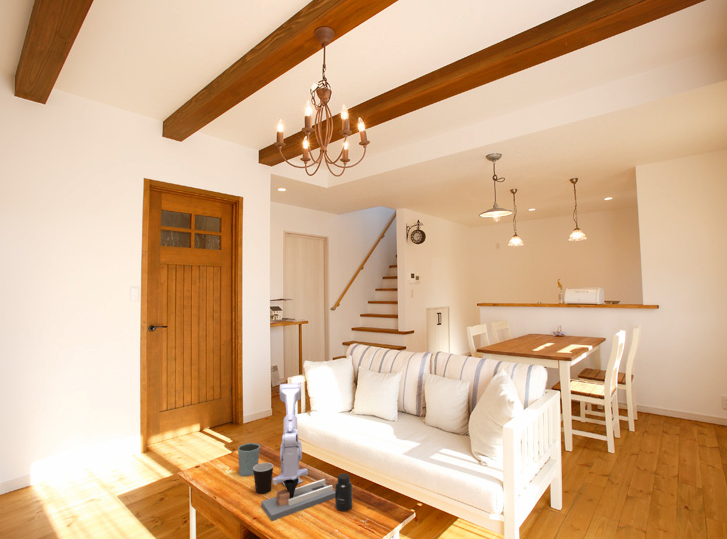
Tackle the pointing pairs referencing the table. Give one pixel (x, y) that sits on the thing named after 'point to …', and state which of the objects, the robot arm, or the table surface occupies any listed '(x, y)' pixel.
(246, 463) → the grey green planter pot
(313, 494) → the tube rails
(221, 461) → the table surface
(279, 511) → the trap deck
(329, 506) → the table surface
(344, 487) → the supplement bottle
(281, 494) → the block
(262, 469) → the coffee mug
